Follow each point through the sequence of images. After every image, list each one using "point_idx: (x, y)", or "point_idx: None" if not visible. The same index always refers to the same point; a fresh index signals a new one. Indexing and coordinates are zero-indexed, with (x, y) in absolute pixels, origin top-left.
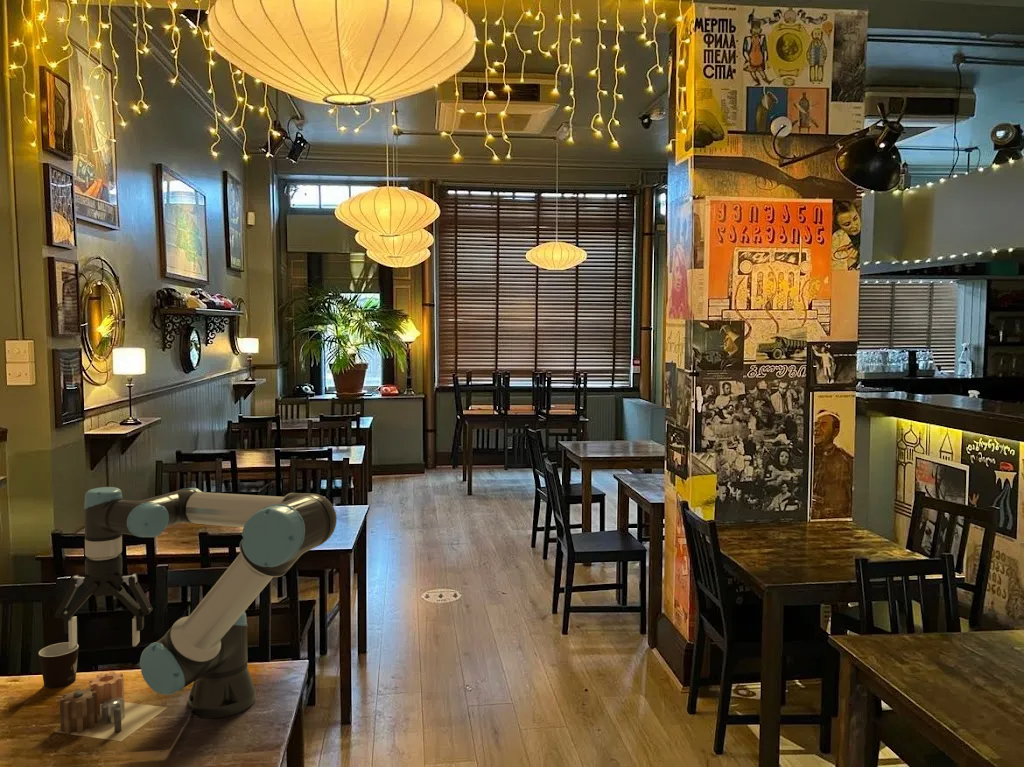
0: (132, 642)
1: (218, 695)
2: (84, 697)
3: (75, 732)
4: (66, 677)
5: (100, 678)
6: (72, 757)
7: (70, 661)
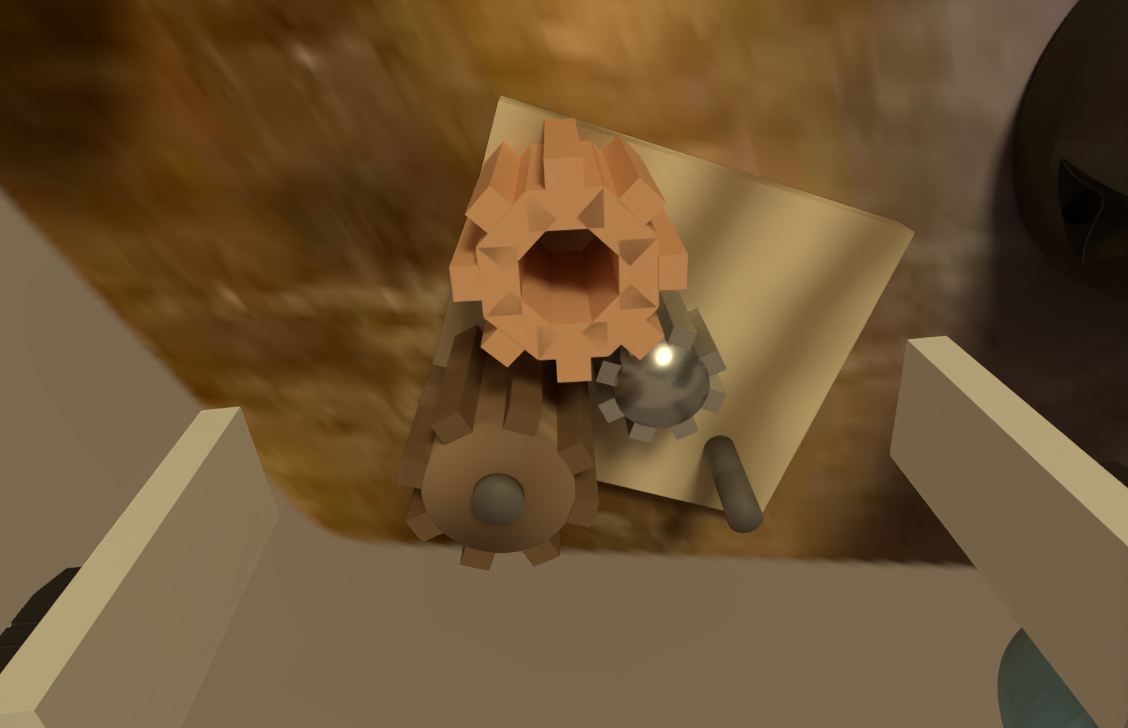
0: (910, 481)
1: None
2: (550, 517)
3: None
4: None
5: (518, 264)
6: (581, 546)
7: None
